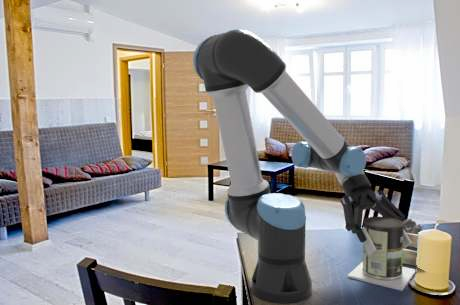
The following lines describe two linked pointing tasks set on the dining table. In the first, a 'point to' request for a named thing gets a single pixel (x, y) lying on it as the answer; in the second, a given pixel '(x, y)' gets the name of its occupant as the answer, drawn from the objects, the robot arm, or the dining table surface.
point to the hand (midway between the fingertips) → (390, 248)
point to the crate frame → (410, 251)
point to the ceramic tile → (395, 284)
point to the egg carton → (412, 226)
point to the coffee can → (384, 248)
